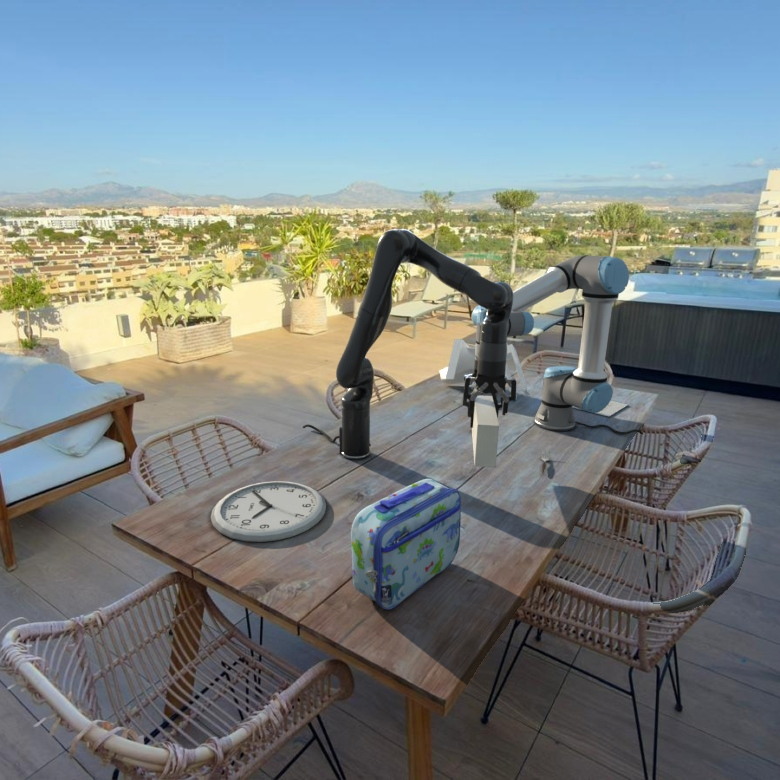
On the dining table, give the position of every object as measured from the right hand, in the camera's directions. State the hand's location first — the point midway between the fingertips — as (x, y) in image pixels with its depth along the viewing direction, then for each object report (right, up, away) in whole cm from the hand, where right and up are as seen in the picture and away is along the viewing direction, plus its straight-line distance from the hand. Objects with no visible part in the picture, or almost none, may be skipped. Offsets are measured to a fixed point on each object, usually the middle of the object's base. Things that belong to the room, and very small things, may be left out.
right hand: (481, 426), depth 169 cm
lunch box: (-26, -29, -56) cm, 69 cm away
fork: (+20, -13, 0) cm, 24 cm away
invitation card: (+62, +4, +57) cm, 84 cm away
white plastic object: (+12, +11, +74) cm, 76 cm away
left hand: (-2, +5, -23) cm, 23 cm away
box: (-1, -6, -9) cm, 11 cm away
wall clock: (-62, -20, -29) cm, 71 cm away
